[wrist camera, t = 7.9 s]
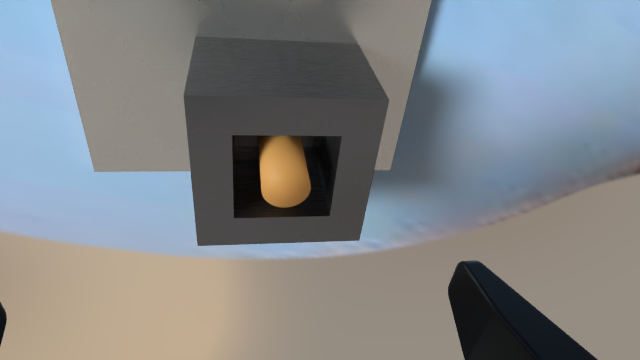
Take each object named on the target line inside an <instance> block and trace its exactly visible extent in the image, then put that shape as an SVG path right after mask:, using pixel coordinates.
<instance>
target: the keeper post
mask: <svg viewBox="0 0 640 360" xmlns="http://www.w3.org/2000/svg"><path fill="white" fill-rule="evenodd" d="M258 146H259V162H260V178H261V192H262V195H263V197H264V199H265V200H266V201H267V202H268V203H270V204H271V205H274V206H277V207H284V208H285V207H292V206H295V205H298V204H300V203H301V202H303V201H304V200H305V199H306V198H307V197H308V195H309V193H310V190H311V184H310V179H309V174H308V169H307V164H306V159H305V154H304V149H303V144H302V139H301V136H263V135H258Z"/></svg>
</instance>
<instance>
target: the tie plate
mask: <svg viewBox="0 0 640 360" xmlns="http://www.w3.org/2000/svg"><path fill="white" fill-rule="evenodd" d="M431 1H432V0H51V3H52V7H53V11H54V15H55V19H56V23H57V27H58V30H59V34H60V38H61V42H62V46H63V50H64V54H65V58H66V62H67V66H68V70H69V73H70V77H71V81H72V85H73V89H74V93H75V97H76V101H77V105H78V109H79V113H80V116H81V120H82V124H83V128H84V132H85V136H86V140H87V144H88V148H89V152H90V155H91V159H92V163H93V167H94V171H95V172H115V171H191V169H190V159H189V148H188V138H187V127H186V117H185V106H184V96H183V95H184V90H185V85H186V80H187V75H188V70H189V66H190V61H191V56H192V51H193V46H194V41H195V36H197V37H219V38H241V39H263V40H286V41H308V42H330V43H352V44H359V46H360V48H361V49H362V51H363V53H364V55H365V57H366V59H367V60H368V62H369V64H370V66H371V68H372V69H373V71H374V73H375V75H376V77H377V78H378V80H379V82H380V84H381V86H382V87H383V89H384V91H385V93H386V95H387V96H388V98H389V104H388V109H387V114H386V118H385V123H384V128H383V132H382V137H381V141H380V146H379V151H378V155H377V160H376V165H375V169H374V170H390V169H391V165H392V161H393V157H394V153H395V149H396V145H397V141H398V137H399V132H400V128H401V124H402V120H403V116H404V112H405V108H406V104H407V100H408V96H409V91H410V87H411V83H412V79H413V75H414V71H415V67H416V63H417V59H418V54H419V50H420V46H421V42H422V38H423V34H424V30H425V26H426V22H427V18H428V13H429V9H430V5H431ZM314 137H315V136H301V139H302V144H303V147H313V146H314ZM234 140H235V146H254V147H259V146H258V135H234Z"/></svg>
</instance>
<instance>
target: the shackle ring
mask: <svg viewBox="0 0 640 360" xmlns="http://www.w3.org/2000/svg"><path fill="white" fill-rule="evenodd" d="M183 96H184V106H185V117H186V127H187V138H188V148H189V159H190V169H191V180H192V191H193V201H194V212H195V222H196V233H197V243H198V246H207V245H236V244H266V243H296V242H326V241H356V240H359V239H360V234H361V230H362V225H363V220H364V216H365V211H366V206H367V202H368V197H369V193H370V188H371V183H372V179H373V174H374V169H375V165H376V160H377V155H378V151H379V146H380V141H381V137H382V132H383V128H384V123H385V118H386V114H387V109H388V104H389V98H388V96H387V95H386V93H385V91H384V89H383V87H382V86H381V84H380V82H379V80H378V78H377V77H376V75H375V73H374V71H373V69H372V68H371V66H370V64H369V62H368V60H367V59H366V57H365V55H364V53H363V51H362V49H361V48H360V46H359V44H352V43H330V42H308V41H286V40H263V39H241V38H219V37H197V36H195V41H194V46H193V51H192V56H191V61H190V66H189V70H188V75H187V80H186V85H185V90H184V95H183ZM234 135H263V136H315V137H314V146H313V147H303V149H304V154H305V159H306V164H307V169H308V174H309V179H310V184H311V190H310V193H309V195H308V197H307V198H306V199H305V200H304V201H303V202H301V203H300V204H298V205H295V206H292V207H285V208H284V207H277V206H274V205H271V204H270V203H268V202H267V201H266V200H265V199H264V197H263V195H262V192H261V178H260V162H259V147H254V146H235V140H234Z"/></svg>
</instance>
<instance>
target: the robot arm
mask: <svg viewBox="0 0 640 360" xmlns="http://www.w3.org/2000/svg"><path fill="white" fill-rule="evenodd" d="M448 295H449V300H450V304H451V308H452V311H453V316H454V320H455V324H456V327H457V331H458V335H459V339H460V343H461V347H462V351H463V355H464V358H465V360H597V359H596V358H595V357H594V356H593V355H591V354H590V353H589V352H588V351H587V350H585V349H584V348H583V347H582V346H580V345H579V344H578V343H577V342H576V341H575V340H573V339H572V338H571V337H570V336H569V335H567V334H566V333H565V332H564V331H563V330H561V329H560V328H559V327H558V326H557V325H555V324H554V323H553V322H552V321H551V320H549V319H548V318H547V317H546V316H545V315H543V314H542V313H541V312H540V311H539V310H537V309H536V308H535V307H534V306H532V305H531V304H530V303H529V302H528V301H527V300H525V299H524V298H523V297H522V296H521V295H519V294H518V293H517V292H516V291H515V290H513V289H512V288H511V287H510V286H509V285H507V284H506V283H505V282H504V281H503V280H501V279H500V278H499V277H498V276H497V275H495V274H494V273H493V272H492V271H491V270H489V269H488V268H487V267H486V266H485V265H483V264H482V263H481V262H479V261H461V262H460V263H458V265H457V267H456V269H455V272H454V274H453V276H452V279H451V281H450V283H449V287H448ZM5 326H6V312H5V310H4V308H3V306H2V304H1V302H0V345H1V341H2V338H3V334H4V330H5Z"/></svg>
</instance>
